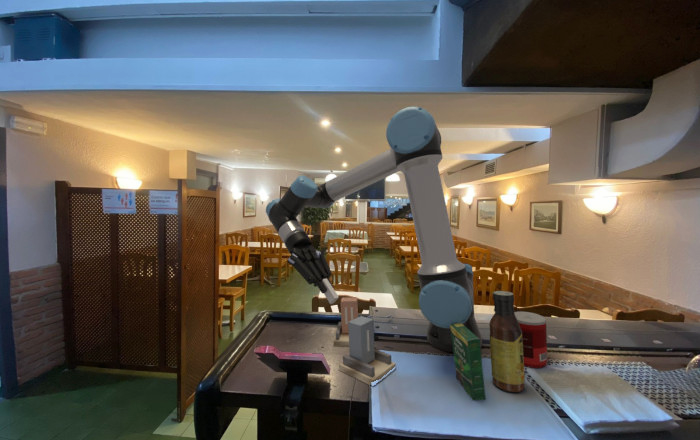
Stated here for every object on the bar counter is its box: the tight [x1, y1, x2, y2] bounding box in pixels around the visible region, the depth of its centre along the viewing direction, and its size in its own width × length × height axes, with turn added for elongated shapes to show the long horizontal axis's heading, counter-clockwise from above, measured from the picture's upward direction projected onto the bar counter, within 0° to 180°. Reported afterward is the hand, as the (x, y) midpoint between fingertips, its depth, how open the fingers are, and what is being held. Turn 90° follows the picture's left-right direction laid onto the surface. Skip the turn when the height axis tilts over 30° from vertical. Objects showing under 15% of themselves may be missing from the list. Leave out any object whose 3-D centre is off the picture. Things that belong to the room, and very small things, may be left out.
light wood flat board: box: [333, 321, 397, 386], centre depth 76 cm, size 13×32×4 cm, turn 15°
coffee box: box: [450, 323, 486, 402], centre depth 58 cm, size 8×3×13 cm, turn 4°
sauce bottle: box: [489, 290, 526, 393], centre depth 59 cm, size 7×6×20 cm
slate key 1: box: [348, 315, 376, 364], centre depth 68 cm, size 4×5×10 cm
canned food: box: [514, 311, 548, 369], centre depth 68 cm, size 8×8×11 cm
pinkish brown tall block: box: [340, 296, 359, 333], centre depth 86 cm, size 4×5×10 cm
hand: (334, 300), depth 74 cm, fingers closed
